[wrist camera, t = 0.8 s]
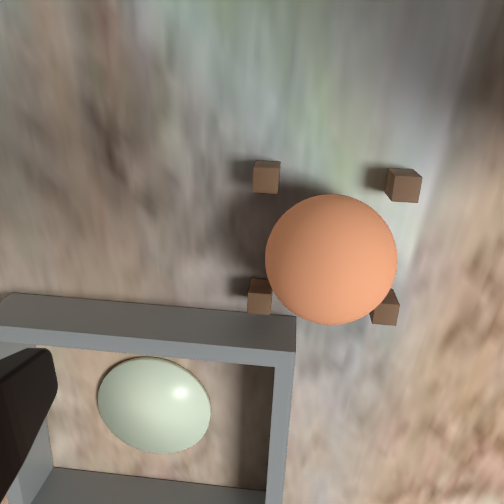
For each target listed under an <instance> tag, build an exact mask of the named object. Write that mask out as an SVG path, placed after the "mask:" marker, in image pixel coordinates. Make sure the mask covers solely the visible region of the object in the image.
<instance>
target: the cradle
mask: <svg viewBox="0 0 504 504" xmlns="http://www.w3.org/2000/svg"><path fill="white" fill-rule="evenodd" d="M280 164H281V162H276V161H259V160H257V161H256V163H255V165H254V167H253V185H252V192H255V193H271V194H278V189H279V180H280ZM421 183H422V176H420V175H419V174H418V173H417V172H416V171H414V170H411V169H394V168H388V174H387V181H386V187H385V193H386V194H387V196H388V197H389V199H390V200H391V201H394V202H410V203H418V200H419V194H420V188H421ZM271 302H272V287H271V285H270V283H269V280H267V279H255V278H251V282H250V286H249V290H248V302H247V313H251V314H263V315H270V310H271ZM399 307H400V304H399V302H398V300H397V297H396V295H395V293H394V290H393V289H390V290H389V292H388V294H387V296H386V297H385V298H384V299H383V301H382V302H381V303H380V304H379V305H378V306H377V307H376V308H375V309H374V310H372V311H371V312H370V313H369V314H370V318H371V321H372V324H381V325H393V326H396V323H397V318H398V312H399Z"/></svg>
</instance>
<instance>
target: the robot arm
mask: <svg viewBox="0 0 504 504" xmlns="http://www.w3.org/2000/svg"><path fill="white" fill-rule="evenodd" d="M57 388H58V383H57V377H56V372H55V368H54V363H53V358H52V354H51V352H50V351H49V350H48V349H46V348H26V349H23V350H21V351H19V352H16V353H14V354H12V355H9V356H7V357H5V358H2V359H0V503H1V502H2V500H3V498H4V497H5V495H6V493H7V492H8V490H9V488H10V486H11V485H12V483H13V481H14V480H15V478H16V476H17V475H18V473H19V471H20V469H21V467H22V466H23V464H24V462H25V460H26V458H27V456H28V454H29V452H30V450H31V448H32V445H33V443H34V441H35V439H36V437H37V435H38V433H39V430H40V428H41V426H42V424H43V422H44V420H45V418H46V416H47V413H48V411H49V409H50V407H51V405H52V403H53V401H54V399H55V396H56V393H57Z"/></svg>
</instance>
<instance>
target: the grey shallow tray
mask: <svg viewBox="0 0 504 504" xmlns="http://www.w3.org/2000/svg"><path fill="white" fill-rule="evenodd" d="M35 345H44V346H55V347H65V348H76V349H87V350H97V351H108V352H119V353H130V354H140V355H151V356H162V357H172V358H183V359H194V360H204V361H215V362H226V363H236V364H247V365H258V366H268V367H275V375H274V389H273V403H272V417H271V431H270V445H269V459H268V473H267V487H266V492H265V491H256V490H248V489H239V488H230V487H222V486H213V485H204V484H195V483H187V482H178V481H169V480H160V479H152V478H143V477H134V476H125V475H117V474H108V473H99V472H90V471H82V470H73V469H64V468H56V467H54V466H53V459H52V453H51V446H50V439H49V433H48V426H47V419H46V418H45V420H44V422H43V424H42V426H41V428H40V430H39V433H38V435H37V437H36V439H35V441H34V443H33V445H32V448H31V450H30V452H29V454H28V456H27V458H26V460H25V462H24V464H23V466H22V467H21V469H20V471H19V473H18V475H17V476H16V478H15V480H14V481H13V483H12V485H11V486H10V488H9V490H8V492H7V498H8V503H9V504H282V500H283V489H284V478H285V467H286V455H287V444H288V433H289V422H290V411H291V399H292V388H293V377H294V366H295V355H296V317H293V316H281V315H263V314H251V313H246V312H234V311H222V310H211V309H199V308H187V307H175V306H163V305H152V304H140V303H128V302H116V301H105V300H93V299H81V298H69V297H57V296H46V295H34V294H22V293H11V294H10V295H8V296H7V297H6V298H4V299H3V300H2V301H0V359H2V358H5V357H7V356H9V355H12V354H14V353H16V352H19V351H21V350H23V349H26V348H36V346H35ZM98 407H99V411H100V414H101V417H102V419H103V421H104V423H105V424H106V426H107V427H108V428H109V429H110V431H111V432H112V433H113V434H114V435H115V436H116V437H118V438H119V439H120V440H121V441H123V442H125V443H126V444H128V445H130V446H132V447H134V448H136V449H139V450H141V451H145V452H149V453H156V454H170V453H176V452H179V451H183V450H185V449H188V448H189V447H191V446H193V445H194V444H196V443H197V442H198V441H199V440H200V439H201V438H202V437H203V435H204V434H205V432H206V430H207V428H208V425H209V421H210V417H211V404H210V400H209V397H208V394H207V392H206V390H205V388H204V387H203V385H202V384H201V382H200V381H199V380H198V379H197V378H196V377H195V376H194V375H193V374H192V373H191V372H189V371H188V370H187V369H185V368H184V367H182V366H180V365H178V364H176V363H174V362H171V361H168V360H165V359H161V358H155V357H139V358H133V359H130V360H127V361H124V362H122V363H120V364H118V365H117V366H115V367H114V368H113V369H112V370H111V371H110V372H109V373H108V374H107V376H106V377H105V378H104V380H103V382H102V384H101V386H100V389H99V392H98Z"/></svg>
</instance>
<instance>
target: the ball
mask: <svg viewBox="0 0 504 504" xmlns="http://www.w3.org/2000/svg"><path fill="white" fill-rule="evenodd" d="M265 267H266V273H267V277H268V280H269V283H270V285H271V287H272V290H273V291H274V293H275V294H276V296H277V297H278V299H279V300H280V301H281V302H282V303H283V305H284V306H285V307H287V308H288V309H289V310H290V311H291V312H293V313H294V314H296V315H298V316H299V317H301V318H303V319H306V320H308V321H311V322H314V323H318V324H325V325H336V324H344V323H349V322H352V321H355V320H357V319H359V318H362V317H363V316H365V315H367V314H368V313H370V312H371V311H372V310H374V309H375V308H376V307H377V306H378V305H379V304H380V303H381V302H382V301H383V299H384V298H385V297H386V296H387V294H388V292H389V290H390V289H391V286H392V284H393V281H394V279H395V275H396V270H397V249H396V244H395V241H394V238H393V236H392V233H391V231H390V229H389V227H388V225H387V224H386V223H385V221H384V220H383V219H382V217H381V216H380V215H379V214H378V213H377V212H376V211H375V210H374V209H372V208H371V207H370V206H368V205H367V204H365V203H363V202H361V201H359V200H357V199H354V198H352V197H348V196H344V195H337V194H325V195H318V196H314V197H310V198H308V199H305V200H303V201H301V202H299V203H297V204H295V205H294V206H293V207H291V208H290V209H289V210H287V211H286V212H285V213H284V214H283V215H282V216H281V217H280V219H279V220H278V221H277V222H276V224H275V226H274V227H273V229H272V231H271V234H270V236H269V238H268V242H267V245H266V252H265Z"/></svg>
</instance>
